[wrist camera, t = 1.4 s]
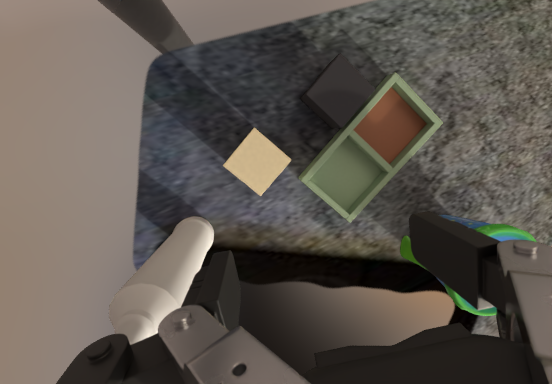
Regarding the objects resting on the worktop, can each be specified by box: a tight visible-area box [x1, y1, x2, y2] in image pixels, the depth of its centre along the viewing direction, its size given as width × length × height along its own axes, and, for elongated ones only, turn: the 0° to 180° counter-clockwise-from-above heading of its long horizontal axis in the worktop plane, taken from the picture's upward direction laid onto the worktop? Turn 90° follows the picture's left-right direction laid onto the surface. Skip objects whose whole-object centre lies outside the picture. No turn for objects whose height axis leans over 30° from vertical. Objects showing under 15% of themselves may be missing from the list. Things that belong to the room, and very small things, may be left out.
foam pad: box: [223, 128, 291, 196], centre depth 32 cm, size 6×6×4 cm
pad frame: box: [298, 72, 443, 223], centre depth 34 cm, size 9×17×2 cm, turn 139°
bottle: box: [109, 216, 214, 345], centre depth 23 cm, size 5×5×25 cm
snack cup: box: [400, 215, 537, 316], centre depth 33 cm, size 16×10×10 cm
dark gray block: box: [300, 53, 375, 129], centre depth 31 cm, size 6×6×4 cm
